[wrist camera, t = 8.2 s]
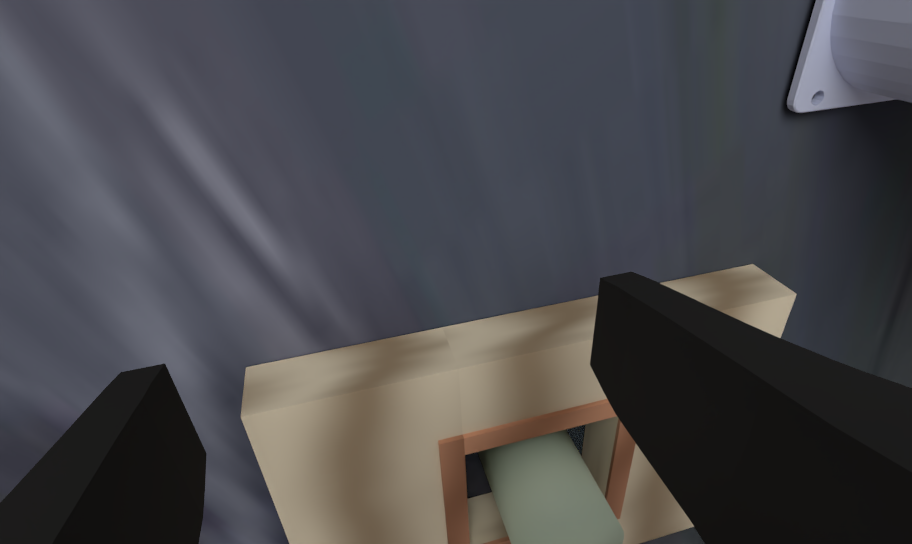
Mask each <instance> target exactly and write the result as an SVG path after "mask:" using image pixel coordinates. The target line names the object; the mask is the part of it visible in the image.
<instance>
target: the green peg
mask: <svg viewBox="0 0 912 544" xmlns="http://www.w3.org/2000/svg"><path fill="white" fill-rule="evenodd" d="M478 455H479V458H480V461H481V463H482V466H483V469H484V471H485V474H486V477H487V480H488V482H489V485H490V488H491V490H492V493H493V496H494V499H495V501H496V504H497V507H498V509H499V512H500V515H501V518H502V520H503V523H504V526H505V528H506V531H507V534H508V537H509V539H510V542H511V544H622V543H623V540H624V531H623V529H622V527H621V525H620V523H619V522H618V520H617V518H616V516H615V515H614V513H613V511H612V509H611V508H610V506H609V504H608V502H607V501H606V499H605V497H604V495H603V494H602V492H601V490H600V488H599V487H598V485H597V483H596V481H595V480H594V478H593V476H592V474H591V473H590V471H589V469H588V467H587V466H586V464H585V462H584V460H583V459H582V457H581V455H580V453H579V451H578V450H577V448H576V446H575V444H574V443H573V441H572V439H571V437H570V436H569V434H568V432H567V430H566V429H565V430H561V431H557V432H553V433H549V434H546V435H542V436H538V437H534V438H530V439H526V440H522V441H518V442H514V443H510V444H506V445H502V446H499V447H495V448H491V449H487V450H483V451H479V452H478Z"/></svg>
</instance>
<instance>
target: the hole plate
mask: <svg viewBox="0 0 912 544" xmlns="http://www.w3.org/2000/svg"><path fill="white" fill-rule="evenodd" d="M660 284H662V285H665V286H667V287H669V288H671V289H673V290H676V291H678V292H680V293H682V294H684V295H686V296H689V297H691V298H693V299H695V300H697V301H699V302H701V303H703V304H706V305H708V306H710V307H712V308H714V309H716V310H718V311H721V312H723V313H725V314H727V315H729V316H731V317H734V318H736V319H738V320H740V321H742V322H745V323H747V324H749V325H751V326H753V327H756V328H758V329H760V330H762V331H765V332H767V333H769V334H772V335H774V336H776V337H779V338H781V335H782V332H783V330H784V327H785V324H786V322H787V319H788V316H789V313H790V311H791V308H792V305H793V303H794V300H795V297H796V295H797V294H796V293H794V292H793V291H791V290H790V289H789V288H787V287H786V286H784V285H783V284H781V283H780V282H778V281H777V280H775V279H774V278H773V277H771V276H770V275H768V274H767V273H765V272H764V271H762V270H761V269H759V268H758V267H756V266H755V265H754V264H751V265H746V266H741V267H736V268H731V269H726V270H721V271H716V272H711V273H706V274H701V275H697V276H692V277H687V278H682V279H677V280H672V281H667V282H662V283H660ZM597 302H598V296H594V297H589V298H584V299H579V300H574V301H569V302H564V303H559V304H554V305H549V306H544V307H540V308H535V309H530V310H525V311H520V312H515V313H510V314H505V315H500V316H495V317H490V318H486V319H481V320H476V321H471V322H466V323H461V324H456V325H451V326H446V327H441V328H436V329H432V330H427V331H422V332H417V333H412V334H407V335H402V336H397V337H392V338H387V339H382V340H378V341H373V342H368V343H363V344H358V345H353V346H348V347H343V348H338V349H333V350H328V351H324V352H319V353H314V354H309V355H304V356H299V357H294V358H289V359H284V360H279V361H275V362H270V363H265V364H260V365H255V366H250V367H246V372H245V382H244V391H243V400H242V410H241V419H242V422H243V424H244V427H245V429H246V432H247V435H248V437H249V440H250V442H251V445H252V448H253V450H254V453H255V455H256V458H257V461H258V463H259V466H260V468H261V471H262V473H263V476H264V479H265V481H266V484H267V486H268V489H269V492H270V494H271V497H272V499H273V502H274V505H275V507H276V510H277V512H278V515H279V518H280V520H281V523H282V525H283V528H284V530H285V533H286V536H287V538H288V541H289V543H290V544H511V542H510V539H509V537H508V534H507V531H506V528H505V526H504V523H503V520H502V518H501V515H500V512H499V509H498V507H497V504H496V501H495V499H494V496H493V493H492V492H490V493H487V494H483V495H479V496H476V497H472V498H468V499H467V484H466V466H465V455H467V454H471V453H475V452H479V451H483V450H487V449H491V448H495V447H499V446H502V445H506V444H510V443H514V442H518V441H522V440H526V439H530V438H534V437H538V436H542V435H546V434H549V433H553V432H557V431H561V430H565V429H569V428H573V427H577V426H581V425H585V424H586V425H585V433H584V440H583V448H582V456H581V457H582V459H583V460H584V462H585V464H586V466H587V467H588V469H589V471H590V473H591V474H592V476H593V478H594V480H595V481H596V483H597V485H598V487H599V488H600V490H601V492H602V494H603V495H604V497H605V499H606V501H607V502H608V504H609V506H610V508H611V509H612V511H613V513H614V515H615V516H616V518H617V520H618V522H619V523H620V525H621V527H622V529H623V531H624V540H623V543H622V544H640V543H643V542H646V541H649V540H652V539H656V538H659V537H662V536H665V535H669V534H672V533H675V532H678V531H681V530H685V529H688V528H691V527H694V525H693V524H692V522H691V521H690V519H689V518H688V517H687V515H686V514H685V512H684V511H683V510H682V508H681V507H680V505H679V504H678V502H677V501H676V500H675V498H674V497H673V495H672V494H671V493H670V491H669V490H668V488H667V487H666V485H665V484H664V483H663V481H662V480H661V478H660V477H659V476H658V474H657V473H656V471H655V470H654V468H653V467H652V466H651V464H650V463H649V461H648V460H647V459H646V457H645V456H644V454H643V453H642V451H641V450H640V449H639V447H638V446H637V444H636V443H635V441H634V440H633V438H632V437H631V436H630V434H629V433H628V431H627V430H626V428H625V427H624V425H623V424H622V423H621V421H620V420H619V418H618V417H617V415H616V414H615V412H614V410H613V408H612V407H611V405H610V403H609V401H608V399H607V397H606V396H605V394H604V392H603V390H602V388H601V386H600V384H599V382H598V380H597V378H596V376H595V374H594V372H593V370H592V368H591V366H590V359H591V351H592V343H593V335H594V326H595V318H596V310H597Z"/></svg>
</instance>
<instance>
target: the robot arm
mask: <svg viewBox="0 0 912 544" xmlns="http://www.w3.org/2000/svg"><path fill="white" fill-rule="evenodd" d="M814 94H815V96H814V98H813V99H812V97H813V95H814ZM897 99H898V100H902V101H906V102H910V103H912V0H816V2H815V5H814V8H813V12H812V15H811V19H810V22H809V26H808V29H807V33H806V36H805V40H804V43H803V47H802V50H801V53H800V57H799V60H798V64H797V67H796V71H795V74H794V78H793V81H792V85H791V88H790V92H789V95H788V99H787V107H788V109H790V110H791V111H794V112H797V113H805V112H812V111H819V110H826V109H833V108H840V107H847V106H855V105H862V104H869V103H876V102H883V101H890V100H897ZM590 366H591V368H592V370H593V372H594V374H595V376H596V378H597V380H598V382H599V384H600V386H601V388H602V390H603V392H604V394H605V396H606V397H607V399H608V401H609V403H610V405H611V407H612V408H613V410H614V412H615V414H616V415H617V417H618V418H619V420H620V421H621V423H622V424H623V425H624V427H625V428H626V430H627V431H628V433H629V434H630V436H631V437H632V438H633V440H634V441H635V443H636V444H637V446H638V447H639V449H640V450H641V451H642V453H643V454H644V456H645V457H646V459H647V460H648V461H649V463H650V464H651V466H652V467H653V468H654V470H655V471H656V473H657V474H658V476H659V477H660V478H661V480H662V481H663V483H664V484H665V485H666V487H667V488H668V490H669V491H670V493H671V494H672V495H673V497H674V498H675V500H676V501H677V502H678V504H679V505H680V507H681V508H682V510H683V511H684V512H685V514H686V515H687V517H688V518H689V519H690V521H691V522H692V524H693V525H694V527H695V529H696V530H697V532H698V533H699V535H700V536H701V538H702V539H703V541H704V542H705V544H912V388H909V387H906V386H903V385H901V384H898V383H895V382H892V381H889V380H886V379H883V378H880V377H877V376H875V375H872V374H869V373H866V372H863V371H861V370H858V369H855V368H853V367H850V366H847V365H845V364H842V363H839V362H837V361H834V360H832V359H829V358H827V357H824V356H822V355H820V354H817V353H815V352H812V351H810V350H807V349H805V348H802V347H800V346H797V345H795V344H793V343H790V342H788V341H785V340H783V339H781V338H779V337H776V336H774V335H772V334H769V333H767V332H765V331H762V330H760V329H758V328H756V327H753V326H751V325H749V324H747V323H745V322H742V321H740V320H738V319H736V318H734V317H731V316H729V315H727V314H725V313H723V312H721V311H718V310H716V309H714V308H712V307H710V306H708V305H706V304H703V303H701V302H699V301H697V300H695V299H693V298H691V297H689V296H686V295H684V294H682V293H680V292H678V291H676V290H673V289H671V288H669V287H667V286H665V285H662V284H660V283H658V282H656V281H653V280H651V279H649V278H646V277H644V276H641V275H639V274H636V273H633V272H628V273H623V274H618V275H613V276H608V277H603V278H600V286H599V294H598V302H597V310H596V318H595V326H594V335H593V343H592V351H591V359H590ZM205 472H206V452H205V450H204V447H203V445H202V443H201V441H200V439H199V437H198V434H197V432H196V430H195V428H194V426H193V424H192V421H191V419H190V417H189V415H188V413H187V411H186V408H185V406H184V404H183V402H182V400H181V398H180V395H179V393H178V391H177V389H176V387H175V385H174V382H173V380H172V378H171V376H170V374H169V372H168V369H167V367H166V365H165V364H161V365H156V366H151V367H146V368H141V369H136V370H131V371H125V372H121V373H120V374H119V375H118V376H117V377H116V378H115V379H114V380H113V381H112V382H111V383H110V384H109V385H108V386H107V387H106V388H105V389H104V390H103V392H102V393H101V394H100V395H99V396H98V397H97V398H96V399H95V400H94V401H93V402H92V404H91V405H90V406H89V407H88V408H87V409H86V410H85V411H84V412H83V413H82V415H81V416H80V417H79V418H78V419H77V420H76V421H75V422H74V423H73V425H72V426H71V427H70V428H69V429H68V430H67V431H66V432H65V433H64V435H63V436H62V437H61V438H60V439H59V440H58V441H57V442H56V443H55V444H54V446H53V447H52V448H51V449H50V450H49V451H48V452H47V453H46V454H45V455H44V456H43V457H42V459H41V460H40V461H39V462H38V463H37V464H36V465H35V466H34V467H33V468H32V469H31V470H30V472H29V473H28V474H27V475H26V476H25V477H24V478H23V479H22V480H21V481H20V482H19V483H18V485H17V486H16V487H15V488H14V489H13V490H12V491H11V492H10V493H9V494H8V495H7V496H6V497H5V499H4V500H3V501H2V502H1V503H0V544H198V542H199V537H200V531H201V525H202V519H203V508H204V493H205Z"/></svg>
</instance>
